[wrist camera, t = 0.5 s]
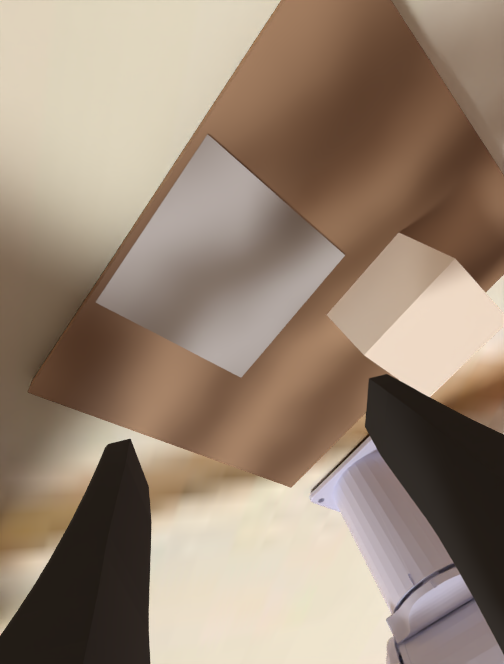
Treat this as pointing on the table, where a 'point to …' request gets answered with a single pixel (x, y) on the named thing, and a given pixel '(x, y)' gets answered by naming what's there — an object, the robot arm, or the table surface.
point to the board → (280, 244)
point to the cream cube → (417, 314)
